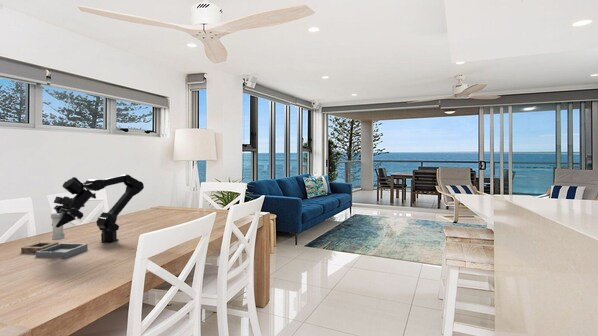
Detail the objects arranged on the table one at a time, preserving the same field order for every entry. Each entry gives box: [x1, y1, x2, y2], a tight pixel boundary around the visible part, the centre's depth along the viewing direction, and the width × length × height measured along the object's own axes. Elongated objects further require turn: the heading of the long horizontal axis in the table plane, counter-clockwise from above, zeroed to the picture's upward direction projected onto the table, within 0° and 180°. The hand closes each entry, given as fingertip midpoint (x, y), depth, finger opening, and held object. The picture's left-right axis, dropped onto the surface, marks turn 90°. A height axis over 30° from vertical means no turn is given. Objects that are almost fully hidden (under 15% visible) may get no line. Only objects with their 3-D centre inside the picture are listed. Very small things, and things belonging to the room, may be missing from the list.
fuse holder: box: [20, 241, 60, 254], centre depth 155 cm, size 10×10×3 cm
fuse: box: [50, 212, 66, 241], centre depth 151 cm, size 5×5×12 cm
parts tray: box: [35, 242, 88, 260], centre depth 151 cm, size 14×14×3 cm
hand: (54, 226), depth 149 cm, fingers closed on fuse, 4 cm apart
